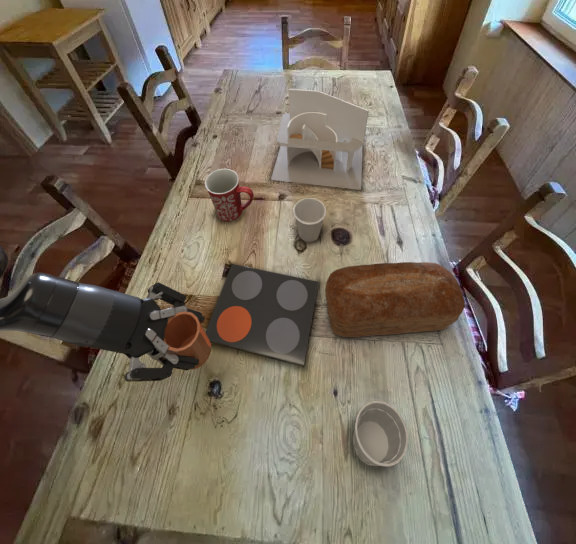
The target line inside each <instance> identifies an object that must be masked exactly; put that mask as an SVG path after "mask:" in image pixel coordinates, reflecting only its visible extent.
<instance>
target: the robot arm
mask: <svg viewBox="0 0 576 544" xmlns="http://www.w3.org/2000/svg"><path fill="white" fill-rule="evenodd" d="M8 265H9V256H8V253H7V251H6V250H5V248H4V247H3V246H2V245H1V244H0V279H1V278H2V277H3V275H4V273H5V272H6V270H7V267H8ZM158 300H161V301H163V302H165V303H167V304H169V305H172V306H173V307H169V308H164V309H161V307H160V305H158V303H157V302H156V301H158ZM186 300H187V296H186V295H185V294H184V293H182V292H180V291H178V290H175V289H173V288H171V287H169V286H167V285H165V284H163V283H161V282H159V281H158V282H155V283H154V284H152V285H151V286H150V287H148V288H147V297H146V298H140V297H138V296H135V295H131V294H128V293H124V292H120V291H117V290H114V289H110V288H107V287H104V286H99V285H97V284H96V285H95V284H92V283H91V284H90V283H82V282H79V281H74V280H70V279H68V278H65V277H64V278H63V277H61V276H58V275H53V274H50V273H47V272H41V271H39V272H34V273H32V274H30V275H29V276H27V278H25V279H24V281H23V282H22V283H21V284H20V285H19V286H18V287H17V288H16V289H15V290H14V291H13V292H12V293H11V294H9V295H7V296H5V297H2V298H0V332H3V331H8V332H9V331H13V332H15V331H16V332H22V333H27V334H32V335H36V336H42V337H47V338H52V339H56V340H59V341H61V342H63V343H67V344H71V345H74V346H77V347H81V348H85V347H87V348H92V349H97V350H102V351H106V352H112V353H117V354H123V355H125V356H126V357H127V358H128V359H129V364H128V365H129V366H128V371H127V372H126V373H125V374H124V378H123V379H124V381H125V382H128V383H130V382H162V381H164V380H166V379H168V378H170V377H171V376H172V375H173V371H174V369H176V370H181V371H187V372H188V371H191V370H190V369H193V368H195V366H197V365H198V364H199V359H196V358H192V357H187V356H182V355H179V356H177V355H176V354H174V353H173V352H171V351H170V350H169V346H168V345H167V344H166V343H165V342H164V338H165V329H166V326H167V323H168V320H169V319H170V318H171V317H172V316H175V315H176V314H177V313H179V312H190V313H193V314H194V315H195V316H196V317H197V318H198V320H199V322H200V323H201V324H203V323H204V322H205V321H206V316H204V315H203V313H202V312H200V311H198V310H194V309H192V308H188V307H187V306H186ZM144 355H147V356H149V358H151V359H152V360H153V361H157V362H158V363H159V364H160V365H161V367H147V365H146V363H145V362H142V361H141V360H140V358H141V357H143V356H144ZM193 370H194V369H193Z"/></svg>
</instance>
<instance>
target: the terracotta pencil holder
mask: <svg viewBox="0 0 576 544" xmlns="http://www.w3.org/2000/svg"><path fill="white" fill-rule="evenodd" d="M164 342H165V343H166V344H167V345H168V346H169V350H170V351H171V352H173V353H174V354H176V355H177V356H179V355H182V356H187V357H192V358H196V359H199V364H198V365H197V366H195V368H193V369H190V370H189V371H192V370H197V369H200V368H202V367H203V366H204V365H205V364H206V363H207V361H209V358H210V357H211V354H212V353H211V352H212V343H211V342H210V340H209V338H208V336H207V334H206V330H205V329H204V327H203V325H202V323H200V322H199V320H198V318H197V317H196V316H195V315H194V314H193V313H190V312H179V313H177V314H176V315H175V316H172V317H171V318H170V319H169V320H168V323H167V326H166V329H165V338H164Z"/></svg>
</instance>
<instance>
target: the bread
mask: <svg viewBox="0 0 576 544" xmlns="http://www.w3.org/2000/svg"><path fill="white" fill-rule="evenodd" d="M324 288H325V289H324V290H325V291H324V292H325V293H324V294H325V299H326V311H327V317H328V320H329V321H328V322H329V325H330V329H331V331H332V333H333V334H334V335H335V336H338V337H345V338H359V337H360V338H361V337H370V336H387V335H388V336H389V335H399V334H406V333H407V334H409V333H417V332H418V333H420V332H436V331H443V330H446V329H448V328H449V327H450V326H451V325H453V324H454V323H456V322H457V321H458V319H459V317H460V316H461V315H462V313H463V311H464V309H465V308H466V300H465V297H464V292H463V291H462V289H461V286H460V284H459V282H458V279H457V277H456V276H454V274H453V273H452V272H451V271H450V270H449V269H447V268H445V267H444V266H443V265H441V264H439V263H437V262H429V261H428V262H427V261H425V262H424V261H423V262H421V261H420V262H415V261H413V262H412V261H411V262H410V261H407V262H406V261H405V262H403V261H402V262H384V263H383V262H381V263H371V264H357V265H349V266H344V267H341V268H338V269H335V270H334V271H332V272H331V273H330V274H329V276H328V278H327V280H326V282H325V287H324Z"/></svg>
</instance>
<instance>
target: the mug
mask: <svg viewBox="0 0 576 544" xmlns="http://www.w3.org/2000/svg"><path fill="white" fill-rule="evenodd" d="M239 182H240V177H239V175H238V173H237V172H236V171H235V170H233V169H231V168H219V169H216V170H213V171H212V172H210V173H209V174H208V175H207V176H206V178H205V180H204V189H205V190H206V191H207V193H208V195H209V198H210V200H211V204H212V205H213V207H214V211H215V212H216V215H217V217H218V219H219V220H220V221H222V222H227V223H231V222H234V221H236V220H238V219H240V217H241V215H242V214H243V211H245V209H247V208H248V207H249V206H250V205H252V202H253V200H254V192H253V189H251V187H248V186H245V185H244V186H240V183H239ZM241 193H245V194H247V195H248V196H249V200H247V201H246V202H245V203H244V204H242V196H241Z"/></svg>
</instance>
